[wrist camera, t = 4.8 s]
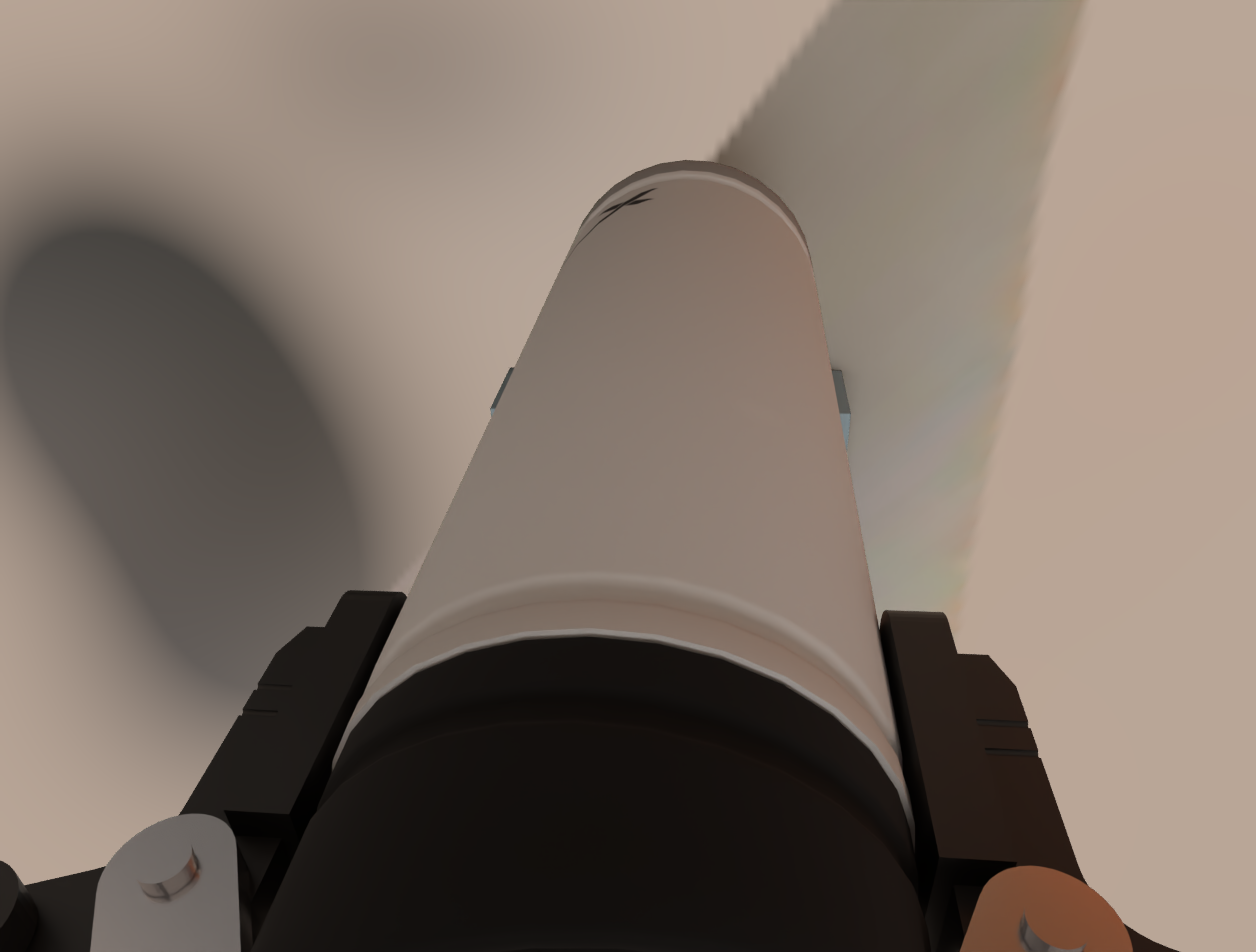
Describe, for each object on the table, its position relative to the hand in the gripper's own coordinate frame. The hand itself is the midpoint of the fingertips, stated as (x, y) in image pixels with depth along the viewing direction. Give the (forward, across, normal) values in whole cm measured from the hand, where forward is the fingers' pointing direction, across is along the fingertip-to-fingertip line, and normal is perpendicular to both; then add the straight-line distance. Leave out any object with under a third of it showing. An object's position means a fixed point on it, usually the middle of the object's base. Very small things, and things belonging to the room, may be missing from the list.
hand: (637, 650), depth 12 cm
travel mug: (+14, 0, 0) cm, 14 cm away
